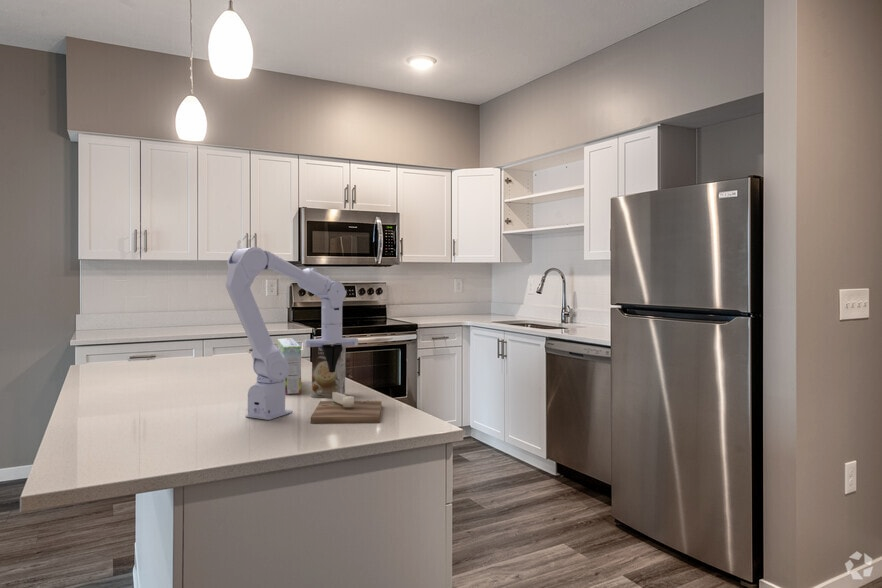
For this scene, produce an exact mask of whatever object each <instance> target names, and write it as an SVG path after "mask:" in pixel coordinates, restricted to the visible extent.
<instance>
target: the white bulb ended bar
mask: <svg viewBox="0 0 882 588" xmlns="http://www.w3.org/2000/svg"><path fill="white" fill-rule="evenodd" d="M331 399H332V400H331V401H334V402H337V403H340V404H342V405H343V407H353V406H354V401H355V396H352V395H346V394H341V393H338V392H332V398H331Z"/></svg>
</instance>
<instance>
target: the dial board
mask: <svg viewBox="0 0 882 588" xmlns="http://www.w3.org/2000/svg"><path fill="white" fill-rule="evenodd" d="M382 403H383V400H354V406H353V407H343V405H342V404H340V403H337V402H334V401H332V400H320V401H319V402H318V404H317V406H316V407H315V409H314V410H313V412H312V414H311V416H310V424H353V423H355V424H356V423H357V424H358V423H359V424H361V423H363V424H364V423H371V424H373V423H375V424H376V423H380V421H381V413H382V406H383V405H382Z"/></svg>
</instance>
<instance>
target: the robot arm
mask: <svg viewBox="0 0 882 588" xmlns="http://www.w3.org/2000/svg"><path fill="white" fill-rule="evenodd" d="M226 263H227V275H226V283H225V288H226V291H227V292H228V296H229V297H230V300H231V302H232V304H233V306H234V309H235V311H236V314H237V315H238V318H239V320H240V323H241V326H242V328H243V330H244V333H245V334H246V336H247V337H246V338H247V339H248V342H249V344H250V346H251V349H252V351H251V358H252V362H253V364H252V368H253V371H254V373H255V374H256V375H257V376H256V382H255V384H253V385H251V386H250V387H249V389H248V391H247V414H245V415H244V416H245V417H246V418H252V419H253V418H254V419H260V420H266V421H267V420H268V421H270V420H274V419H276V418H279V417H282V416H286V415H288V414H291V413H293V410H292V409H286V395H285V378H286V376H287V375H288V373H289V369H290V368H289V363H288V361H287V360H286V359H285V358H283V357H282V355H281V353H280V351H279V350H278V346H276V345H275V344H274V343H273V339H272V338H271V335H270V334H269V331H268V328H267V326H266V323H265V321H264V318H263V316H262V313H261V311H260V310H259V307H258V305H257V301H256V299H255V297H254V295H253V293H252V290H251V286H252V284H253V283H254V281H255V279H256V278H257V276H259V274H261V273H262V272H263V270H271V271H274V272H276V273H278V274H281V275H283V276H285V277H287V278H290V279H292V280H295V281H296V283H297V285H298V287H299V288H301V289H303V290H304V291H307V292H309V293H311V294H313V295H315V296H317V297H318V298H319V299H320V300H321V338H311V339H305V340H304V347H305V348H312V347H320V346H321V348H322V351H323V353H324V355H325V357H326V360H327V364H328V369H329V372H335V368H336V364H337V361H338V358H339V356H340V354H341V352H342V349H343V347H342V346H346V347H347V346H359V339H358V338H357V337H343V305H344V304H343V303H344V299H345V298H346V297H347V292H348V291H347V290H346V288H345V286H344V284H343V283H342V282H340V281H339V280H338V281H337V280H332V279H331V276H329V275H326V276H325V275H323V274H321V273H319V272H317V271H318V269H316V268H315V267H310V268H309V267H306V268H303V269H302V268H299V267H297V266H296V265H294V264H292V263H291V262H288V261H287V260H285V259H283V258H282V257H279V256H278V255H276V254H275V253H273V252H271V251H267V250H264V249H263V248H260V247H259V246H253V247H239V248H237V249H234V250H233V251H232V253H231V255H230V256H229V258H228V259H227V261H226ZM326 343H339V344H326Z"/></svg>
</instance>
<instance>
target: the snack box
mask: <svg viewBox="0 0 882 588" xmlns="http://www.w3.org/2000/svg"><path fill="white" fill-rule="evenodd" d="M277 349H278V350H279V351H280V353H281V355H282V357H283V358H285V359H286V360H287V361H288V363H289V368H290V369H289V373H288V375H287V376H286V378H285V396H287V395H289V396H290V395H300V394H302V364H301V363H302V358H301V357H302V351H301V349H302V348H301V345H300V344H298V342H297V341H296V340H294V339H293V337H290V338H289V337H286V338H277Z"/></svg>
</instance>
